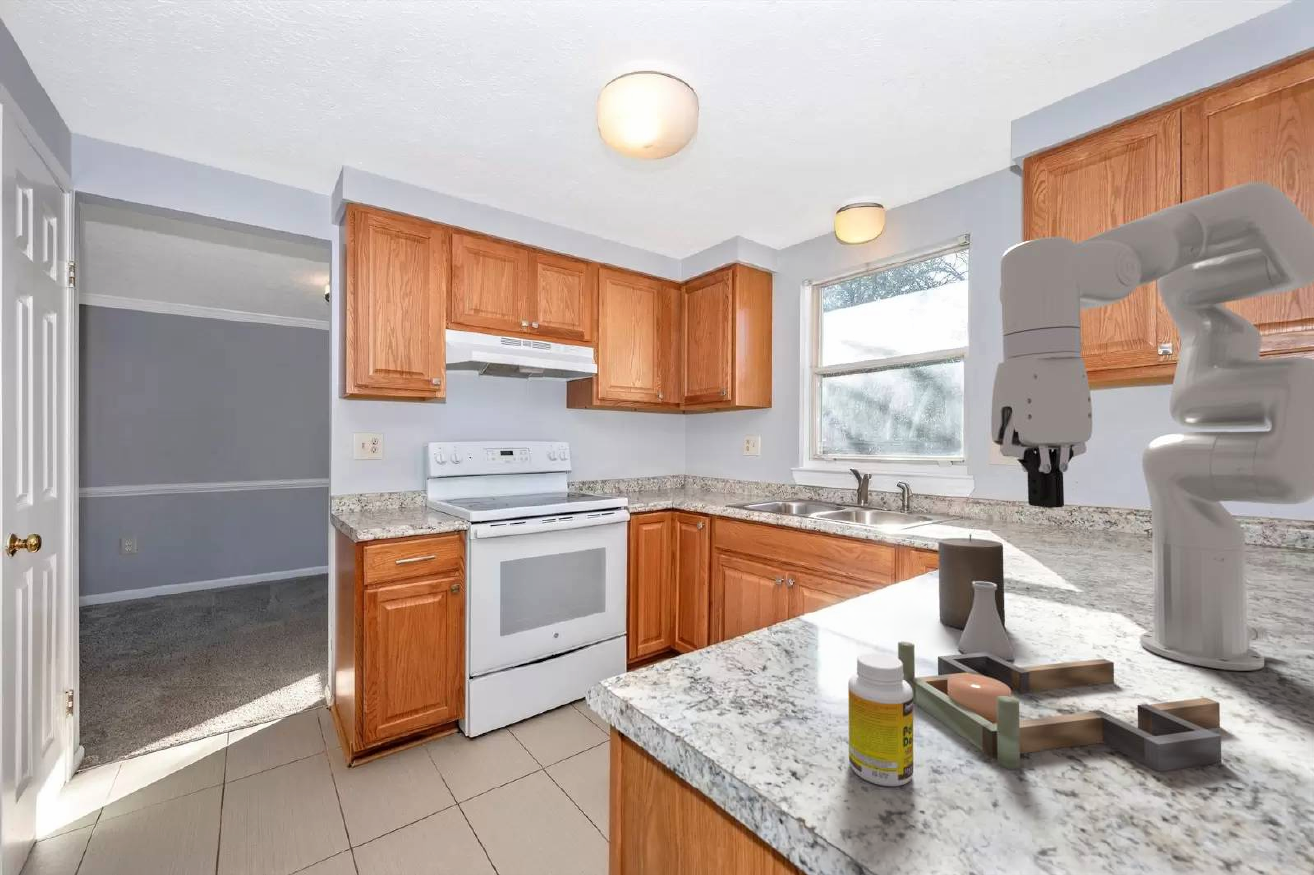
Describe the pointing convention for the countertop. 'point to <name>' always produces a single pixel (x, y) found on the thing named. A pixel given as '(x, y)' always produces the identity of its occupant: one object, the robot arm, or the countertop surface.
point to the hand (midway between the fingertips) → (1045, 506)
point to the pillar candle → (968, 576)
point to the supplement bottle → (880, 721)
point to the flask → (985, 625)
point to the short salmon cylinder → (977, 693)
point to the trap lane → (1158, 741)
